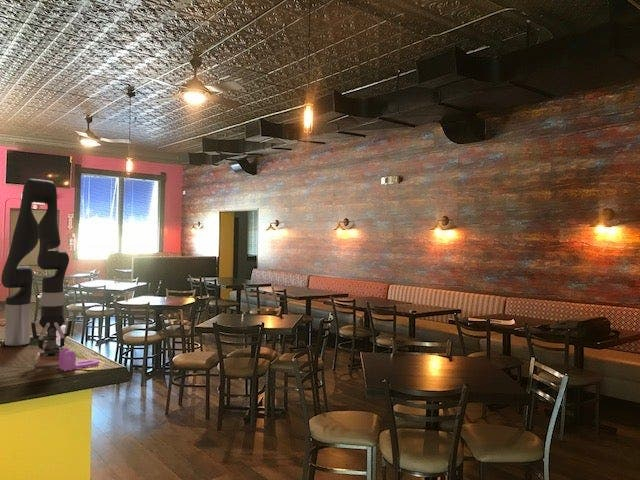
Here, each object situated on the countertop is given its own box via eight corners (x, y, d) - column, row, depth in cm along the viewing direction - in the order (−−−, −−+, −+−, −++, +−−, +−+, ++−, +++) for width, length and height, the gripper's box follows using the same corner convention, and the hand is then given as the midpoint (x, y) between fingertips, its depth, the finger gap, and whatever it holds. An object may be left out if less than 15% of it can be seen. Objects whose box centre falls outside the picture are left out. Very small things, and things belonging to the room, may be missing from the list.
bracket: (64, 371, 181) (64, 352, 181) (58, 368, 185) (59, 349, 185) (101, 365, 190) (101, 346, 190) (95, 362, 194) (95, 344, 194)
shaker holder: (36, 359, 195) (36, 351, 195) (65, 357, 199) (65, 349, 199) (35, 367, 185) (35, 358, 185) (66, 364, 190) (66, 356, 190)
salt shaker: (52, 358, 189) (53, 326, 188) (38, 357, 190) (39, 325, 190) (63, 355, 194) (64, 323, 194) (50, 353, 196) (50, 322, 195)
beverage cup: (68, 346, 217) (69, 313, 217) (59, 349, 211) (60, 315, 211) (54, 345, 218) (55, 312, 217) (45, 348, 212) (46, 315, 211)
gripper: (73, 301, 198) (72, 344, 199) (30, 303, 192) (29, 347, 192) (74, 304, 192) (73, 349, 192) (30, 306, 185) (29, 352, 185)
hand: (51, 348), depth 192 cm, fingers closed on salt shaker, 6 cm apart
